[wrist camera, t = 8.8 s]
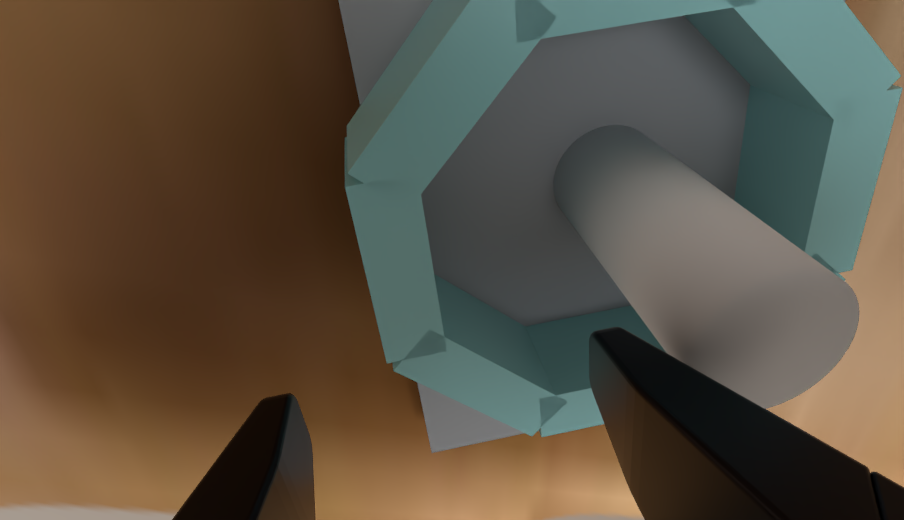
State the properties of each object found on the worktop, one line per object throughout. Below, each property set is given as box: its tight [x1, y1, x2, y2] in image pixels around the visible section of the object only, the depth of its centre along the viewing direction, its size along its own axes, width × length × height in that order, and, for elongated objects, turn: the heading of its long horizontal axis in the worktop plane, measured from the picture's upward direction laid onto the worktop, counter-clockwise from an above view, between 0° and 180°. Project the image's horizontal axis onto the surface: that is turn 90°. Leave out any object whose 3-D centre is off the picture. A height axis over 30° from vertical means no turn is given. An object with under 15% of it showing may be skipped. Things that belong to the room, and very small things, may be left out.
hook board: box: [338, 0, 859, 453], centre depth 11 cm, size 10×15×8 cm, turn 7°
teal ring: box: [345, 0, 902, 437], centre depth 12 cm, size 10×10×2 cm
